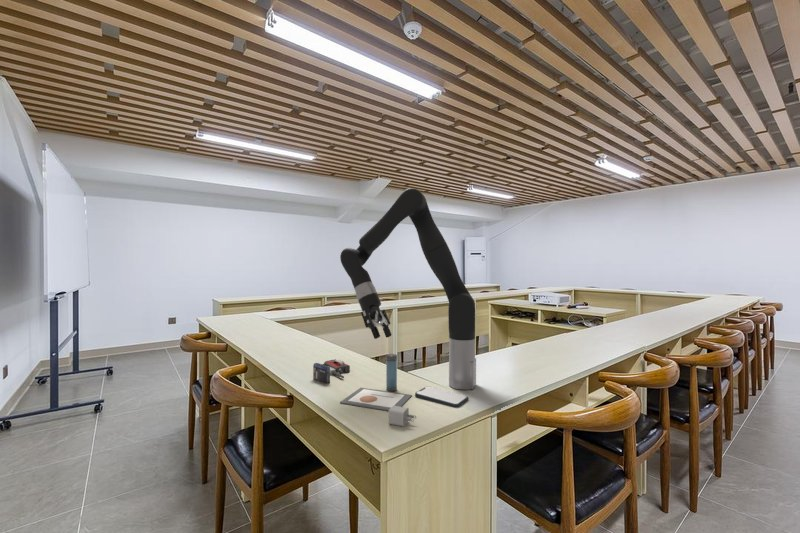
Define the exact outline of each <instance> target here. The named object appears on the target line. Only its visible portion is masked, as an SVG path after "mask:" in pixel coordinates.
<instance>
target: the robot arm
mask: <svg viewBox="0 0 800 533" xmlns="http://www.w3.org/2000/svg"><path fill="white" fill-rule="evenodd" d="M407 217H409V218H410V220H411V222H412V224H413V225H414V228H415V230H416V232H417V237H418V239H419V240H418V241H419V244H420V247H421V250H422V251H421V252H422V253H423V255H424V258H425V260H426V261H427V264H428V265H429V268H430V269H431V271H432V272H433V274H434V276H436V278H437V280H438V281H439V283H440V285H441V286H442V288H443V290H444V293H445V295H446V298H447V301H448V312H447V313H448V386H449V387H451V388H453V389H455V390H463V391H464V390H465V391H466V390H474V389H475V387H476V385H477V358H476V302H475V300H474V298H473V296H472V295H471V294H470V292H469V291H468V289H467V287H466V285H465V283H464V282H463V280H462V278H461V276H460V273H459V269H458V267H457V264H456V261H455V258H454V257H453V255H452V252H451V250H450V248H449V246H448V243H447V241H446V240H445V237H444V236H443V234H442V233H441V231H440V229H439V227H438V226H437V224H436V222H435V221H434V218H433V216H432V214H431V211H430V208H429V205H428V201H427V199H426V197H425V195H424V194H423V193H422V192H421V191H420V189H417V188H413V187H409V188H406V189H405V190H403V191H402V192H401V194H400V195H399V196H398V197H397V199H396V200H395V201H394V203H393V204H392V205H391V207H390V208H389V209H388V210H387V212H386V213H384V215H383V216H382V217H381V218H380V219H379V220H378V221H377V222H376V223H375V224H374V225H373V226H372V227H371V228H369V229H368V230H367V231H366V233H364V234H363V236H361V237H360V238H359V241H358V243H359V246H358V247H357V248H356V249H355V248H352V247H347V248H344V249H342V251H341V253H340V255H339V256H340V263H341V265H342V267H343V269H344V271H345V272H346V274H347V275H348V277H349V278H350V280H351V283H352V286H353V289H354V291H355V296H356V299H357V301H358V304H359V307H360V309H361V312H360V314H361V317H362V319H363V323H364V326H365V328H366V329H367V328H368V329H369V330H370V331H371V334H372V337H373V338H374V339H375V340H377V339H378V338H380V337H381V335H380V332H379V328H378V327H377V325H378V326H379V325H380V327H381V328H382V330H383V333H384V336H385V338H389V337H392V332H391V330H390V327H389V326H390V325H391V321H390V319H389V317H388V314H387V312H386V310H385V309H380V306H382V302H381V299H380V297H379V294H378V291H377V289H376V287H375V286H374V284H373V281H372V279H371V276H370V274H369V272H368V270H366V269H365V268H364V267H363V266H364V265H365V264H366V263H367V261H368V260H369V258H371V256H372V254H373V252H374V251H375V250H377V249H378V248H379V247H380V246H381V245H382V244H383V243H384V242H385V241H386V240H387V239H388V238H389V236H390V235H391V234H392V233H393V231H394V229H395V228H396V227H397V226H398V225H399V224H400V223H401V222H402V221H403V220H405V219H406V218H407Z"/></svg>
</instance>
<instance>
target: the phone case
mask: <svg viewBox="0 0 800 533" xmlns="http://www.w3.org/2000/svg"><path fill="white" fill-rule="evenodd" d="M414 393H415V394H414V396H415V398H418V399H421V400H425V401H427V402H432V403H436V404H440V405H444V406H449V407H452V408H460V407H461V406H462V405H464V404H465V403H467V402H468V401H469V397H468V396H467V395H464V394H460V393H458V392H457V393H456V392H453V391H452V392H451V391H448V390H445V389H441V388H437V387H432V386H425V387H423V388H421V389H419V390H418V391H416V392H414Z"/></svg>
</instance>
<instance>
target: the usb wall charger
mask: <svg viewBox="0 0 800 533" xmlns="http://www.w3.org/2000/svg"><path fill="white" fill-rule="evenodd" d="M414 419H417V416H416V415H414V414H409V407H405V406H404V407H403V406H402V407H399V406H393V407H391V408H390V409H389V411H388V424H389V425H393V426H398V427H405V426H406V425H407V424H408V423H409V422H414Z"/></svg>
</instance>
